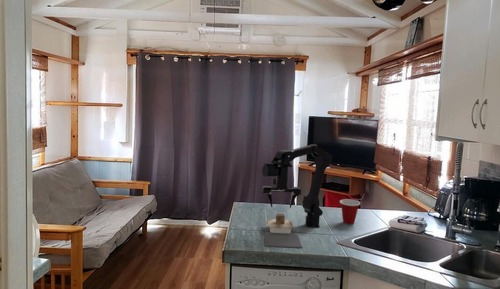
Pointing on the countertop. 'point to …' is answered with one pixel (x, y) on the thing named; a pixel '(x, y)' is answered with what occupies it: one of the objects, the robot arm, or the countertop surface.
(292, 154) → the robot arm
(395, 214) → the countertop surface
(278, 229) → the dish
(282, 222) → the lid
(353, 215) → the plastic cup
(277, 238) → the mat
